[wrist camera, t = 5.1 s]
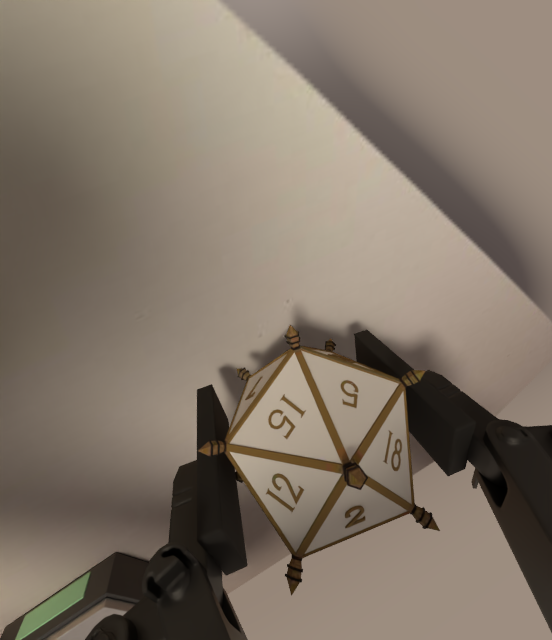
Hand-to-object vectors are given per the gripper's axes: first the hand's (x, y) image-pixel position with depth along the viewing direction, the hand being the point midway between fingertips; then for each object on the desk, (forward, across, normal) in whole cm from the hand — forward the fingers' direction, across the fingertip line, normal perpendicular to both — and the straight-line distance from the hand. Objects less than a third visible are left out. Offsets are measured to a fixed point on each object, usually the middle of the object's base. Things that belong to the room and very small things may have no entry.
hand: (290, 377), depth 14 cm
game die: (+1, 0, 0) cm, 1 cm away
